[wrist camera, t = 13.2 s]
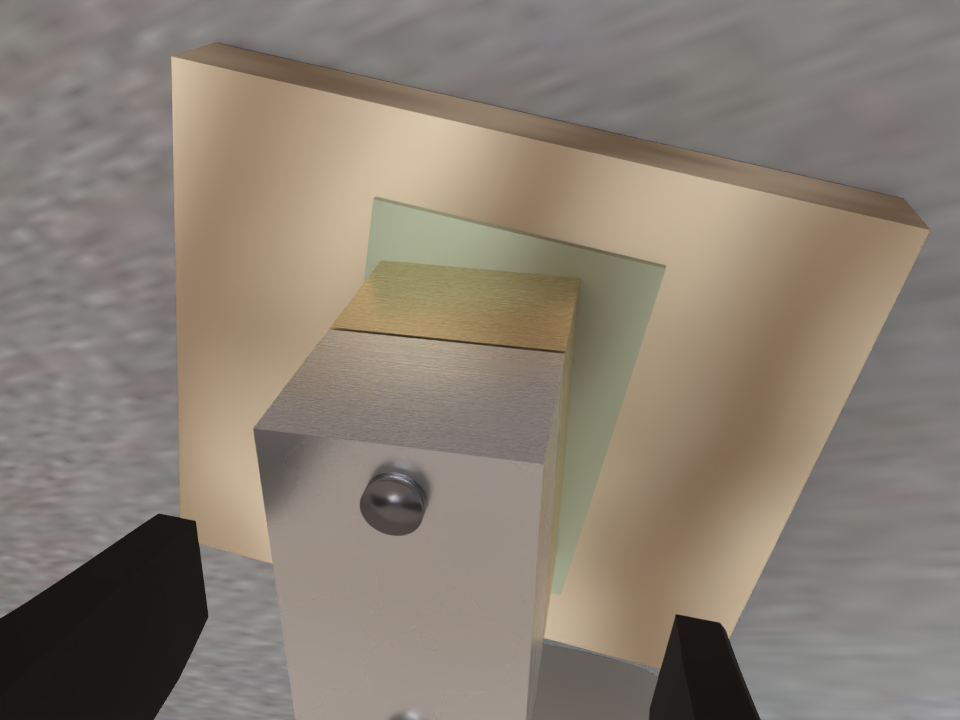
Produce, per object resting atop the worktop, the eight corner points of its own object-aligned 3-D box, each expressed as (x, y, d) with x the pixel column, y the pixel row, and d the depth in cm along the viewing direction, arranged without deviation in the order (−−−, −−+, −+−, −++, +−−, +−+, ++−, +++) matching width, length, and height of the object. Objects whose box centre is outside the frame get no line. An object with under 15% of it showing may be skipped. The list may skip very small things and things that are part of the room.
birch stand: (903, 198, 18) (933, 233, 16) (703, 628, 25) (707, 688, 23) (215, 42, 19) (166, 57, 17) (211, 496, 26) (177, 543, 24)
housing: (556, 553, 22) (518, 811, 16) (393, 530, 22) (294, 769, 16) (579, 277, 18) (540, 477, 12) (380, 259, 18) (244, 439, 12)
